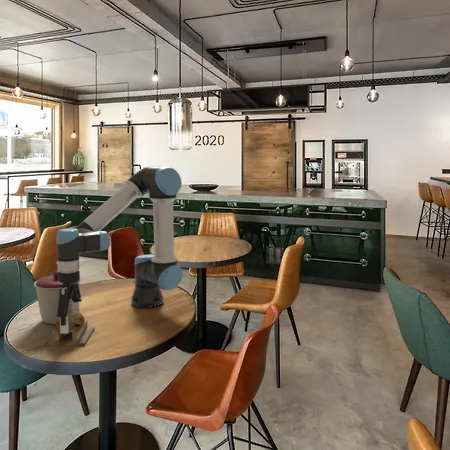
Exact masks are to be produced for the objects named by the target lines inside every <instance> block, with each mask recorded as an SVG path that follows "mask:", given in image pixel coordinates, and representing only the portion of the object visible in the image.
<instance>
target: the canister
mask: <svg viewBox="0 0 450 450" xmlns="http://www.w3.org/2000/svg"><path fill="white" fill-rule="evenodd" d="M58 272H59V271H58V270H55V271H54V272H53V273H52V275H47V276H43V277H41V278H39V279H37V280H36V281H34V283H33V287H34V288H35V291H36V299H37V302H38V303H37V304H38V308H39V314H40V317H41V320H42V321H43V322H44V323H46V324H49V325H56V321H55V320H56V318H58V317H57V312H58V304H59V295H60V291H59V290H60V289H62V287H63V284H62V283H60V282H58ZM81 283H82V279H81V278H80V280H79V281H78V285H79V286H80V284H81ZM72 302H73V301H72V299H70V302H69V307H68V310H70V309H72Z"/></svg>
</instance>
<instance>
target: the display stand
mask: <svg viewBox="0 0 450 450" xmlns="http://www.w3.org/2000/svg"><path fill="white" fill-rule="evenodd" d="M95 329H96V328H95V326H88V319H85V323H84V325H83V326H81V327H80V328H78V329H76V330H70V331H69V333H60V330H59V329H58V328H57V327H56V328H55V330H53V332H52V334H51V335H50V336H49V337H48V338H47V340H45V342H44V346H45V347H51V346H52V347H54V346H55V347H56V346H57V347H59V346H60V347H61V346H66V347H69V346H70V347H71V346H73V347H75V346H77V347H78V346H80V347H81V346H84V347H85V345H86V344H87V343H88V341H89V340H90V338H91V336H92V334H93V333H94V331H95Z"/></svg>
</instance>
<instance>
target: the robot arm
mask: <svg viewBox="0 0 450 450" xmlns="http://www.w3.org/2000/svg"><path fill="white" fill-rule="evenodd" d="M182 184H183V183H182V177H181V175H180V173H179V172H178V171H177V169H175V168H173V167H170V166H155V165H154V166H153V165H148V166H145V167H143V168H141V169H140V170H138V171H137V172H135V173H134V174H132V176H130V177H129V178H128V179H127V180H126V181H124V186H122V187H121V188H120V189H119V190H117V191H116V192H115V193H114V194H113V195H112V196H111V197H109V198H108V199H107V200H106V201H105V202H104V203H102V204H101V205H100V206H99V207H98V208H97V209H96V210H94V211H93V212H92V213H91V214H89V215H88V216H87V217H86V218H85V219H84V220H83V221H81V222H80V223H79V224H78V225H73V226H71V227H69V228H62V229H61V228H60V229H59V230H57V232H56V239H55V240H56V242H55V244H56V254H57V255H56V256H57V257H56V258H57V261H56V262H55V264H56V265H57V271H59V272H58V282H60V283H62V284H63V287H62V289H60V290H59V291H60V295H59V304H58V312H57V317H60V333H69V327H68V315H67V312H68V307H69V302H70V299H72V301H73V302H72V310H77V311H79V312H80V313H81V309H80V302H82V301H83V300H82V294H81V290H80V285H78V281H79V280H80V279H81V274H80V266H81V265H80V254H86V253H93V252H102V251H106V250H108V249H109V248H110V246H111V237H110V235H109V232H107V231H106V230H103V229H104V228H105V227H106V226H107V225H108V224H109V223H110V222H112V221H113V220H114V219H116V217H117V216H118V215H120V213H122V212H124V210H125V209H126V208H127V207H129V205H131V204H132V203H133V202H135V200H137V199H141V198H142V197H143V196H144V195H147V194H148V198H149V199H150V201H151V202H152V207H153V209H152V211H153V245H154V246H153V247H154V248H153V249H154V251H153V252H154V254H153V253H152V254H151V253H150V254H141V255H138V256H136V257H135V259H134V289H133V293H132V295H131V298H130V301H131V302H130V303H131V305H132V306H134V307H137V308H142V307H149V308H151V307H150V306H155V305H158V304H160V303H162V302H163V303H164V295H163V291H162V290H165V291H173V290H175V289H176V288H177V287H179V285H180V284H181V282H182V280H183V277H184V276H183V275H184V273H183V270H182V268H181V267H180V266H179V265H178V257H177V256H175V239H174V236H175V235H174V234H175V232H174V201H175V200H176V199H177V194H178V193H179V192H180V190H181V188H182ZM163 303H162V304H163Z"/></svg>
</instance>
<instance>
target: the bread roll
mask: <svg viewBox="0 0 450 450" xmlns="http://www.w3.org/2000/svg"><path fill="white" fill-rule="evenodd" d="M67 315H68V327H69V331H70V330H76V329H78V328H80V327H81V326H83V325H84V323H85V320H86V319H85V316H84V315H83V314H82V313H81V311H80V312H79V311H77V310H72V309H70V310H68V312H67ZM55 321H56V324H55V326H56V328H58V329H59V330H60V317H58V318H56V320H55Z"/></svg>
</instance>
